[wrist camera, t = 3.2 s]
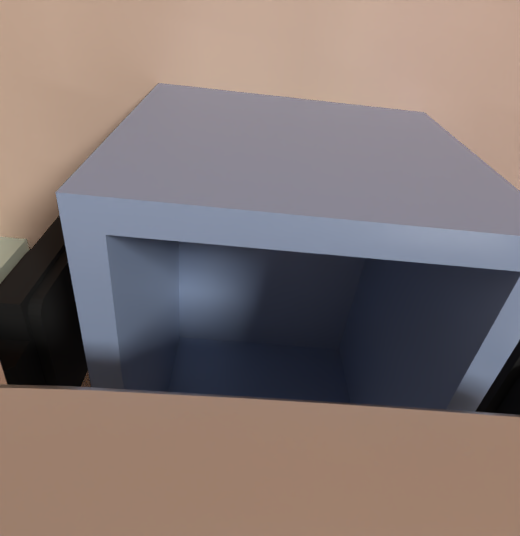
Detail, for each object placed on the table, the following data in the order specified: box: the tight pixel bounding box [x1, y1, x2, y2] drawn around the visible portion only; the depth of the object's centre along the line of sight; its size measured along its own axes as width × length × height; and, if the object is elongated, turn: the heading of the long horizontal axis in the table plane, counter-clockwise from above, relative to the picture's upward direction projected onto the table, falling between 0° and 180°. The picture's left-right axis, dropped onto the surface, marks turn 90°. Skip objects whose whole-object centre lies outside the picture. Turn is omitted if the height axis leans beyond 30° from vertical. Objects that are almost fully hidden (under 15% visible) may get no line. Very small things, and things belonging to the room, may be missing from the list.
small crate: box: [56, 83, 520, 412], centre depth 10 cm, size 6×8×6 cm
